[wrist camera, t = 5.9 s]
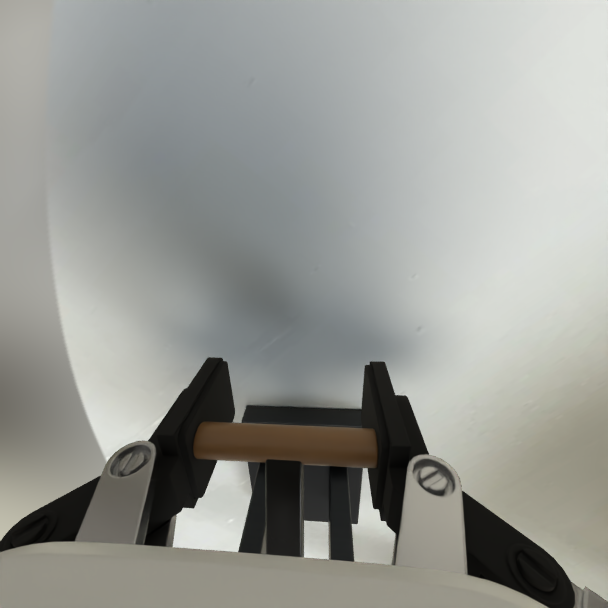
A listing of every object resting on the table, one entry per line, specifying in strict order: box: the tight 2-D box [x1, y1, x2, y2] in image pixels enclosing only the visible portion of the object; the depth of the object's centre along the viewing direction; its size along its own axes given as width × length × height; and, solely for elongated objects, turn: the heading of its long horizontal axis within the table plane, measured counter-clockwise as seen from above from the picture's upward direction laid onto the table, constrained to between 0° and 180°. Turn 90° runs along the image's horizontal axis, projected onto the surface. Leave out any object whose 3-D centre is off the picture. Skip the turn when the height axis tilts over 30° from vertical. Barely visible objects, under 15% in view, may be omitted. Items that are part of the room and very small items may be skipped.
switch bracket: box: [238, 406, 363, 562], centre depth 13 cm, size 9×7×12 cm
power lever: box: [193, 422, 378, 558], centre depth 9 cm, size 12×6×2 cm, turn 1°
